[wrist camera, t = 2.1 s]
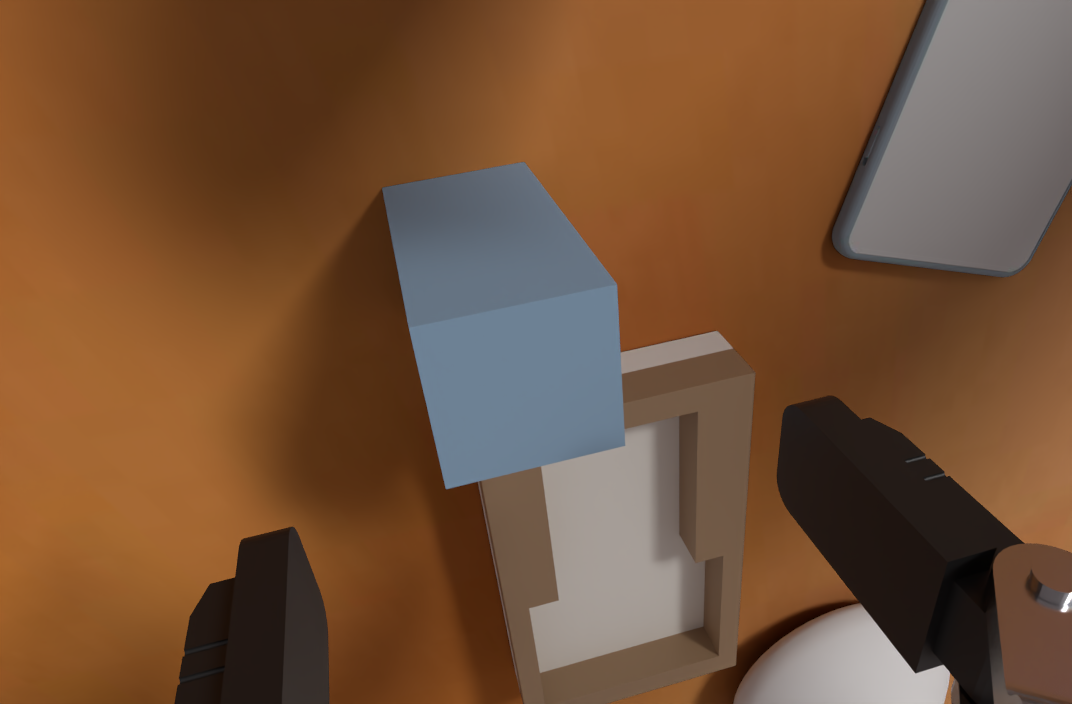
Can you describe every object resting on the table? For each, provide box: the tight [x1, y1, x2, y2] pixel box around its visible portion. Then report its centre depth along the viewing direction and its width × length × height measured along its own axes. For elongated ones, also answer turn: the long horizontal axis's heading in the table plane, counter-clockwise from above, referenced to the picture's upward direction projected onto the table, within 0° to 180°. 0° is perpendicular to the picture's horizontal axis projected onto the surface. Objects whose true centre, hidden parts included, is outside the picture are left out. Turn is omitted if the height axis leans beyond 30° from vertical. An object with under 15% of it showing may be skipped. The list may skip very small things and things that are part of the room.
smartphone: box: [832, 0, 1072, 277], centre depth 22 cm, size 8×1×15 cm
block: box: [382, 162, 625, 489], centre depth 18 cm, size 4×4×8 cm
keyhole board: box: [478, 331, 755, 704], centre depth 28 cm, size 9×15×3 cm, turn 6°
